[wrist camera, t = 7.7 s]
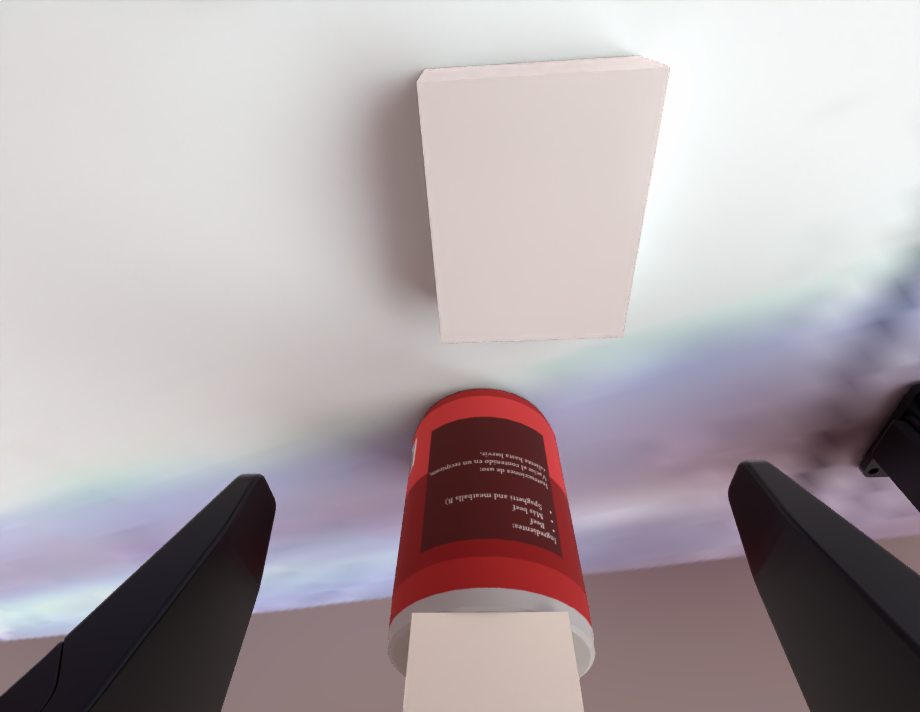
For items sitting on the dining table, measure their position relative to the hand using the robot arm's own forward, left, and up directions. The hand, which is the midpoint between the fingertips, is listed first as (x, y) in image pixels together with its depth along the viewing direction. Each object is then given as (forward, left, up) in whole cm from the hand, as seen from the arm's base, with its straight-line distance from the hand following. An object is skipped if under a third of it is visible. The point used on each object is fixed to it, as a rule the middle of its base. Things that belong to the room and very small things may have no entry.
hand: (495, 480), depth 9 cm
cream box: (0, +12, -2) cm, 12 cm away
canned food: (0, +12, -13) cm, 17 cm away
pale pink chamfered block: (-2, -1, -12) cm, 13 cm away
